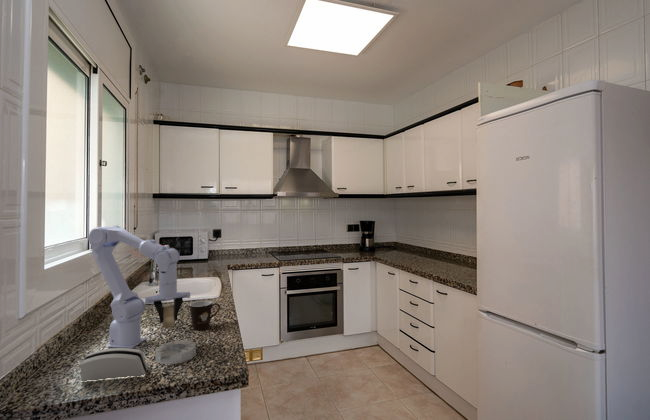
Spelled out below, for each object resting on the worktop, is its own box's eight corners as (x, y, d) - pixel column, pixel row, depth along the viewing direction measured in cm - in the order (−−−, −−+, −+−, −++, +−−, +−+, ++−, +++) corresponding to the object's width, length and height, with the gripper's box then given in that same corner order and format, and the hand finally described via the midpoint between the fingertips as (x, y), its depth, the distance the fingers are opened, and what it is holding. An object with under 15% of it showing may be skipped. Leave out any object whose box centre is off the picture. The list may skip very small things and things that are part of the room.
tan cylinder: (159, 327, 115) (159, 308, 115) (166, 323, 119) (166, 304, 119) (170, 328, 115) (170, 308, 115) (176, 324, 119) (176, 304, 119)
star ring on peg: (147, 364, 103) (147, 354, 103) (169, 348, 115) (169, 339, 115) (183, 366, 102) (183, 356, 101) (202, 349, 113) (202, 340, 113)
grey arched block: (150, 368, 100) (146, 342, 97) (145, 381, 96) (140, 354, 92) (89, 374, 97) (83, 347, 94) (81, 387, 93) (74, 359, 89)
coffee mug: (188, 332, 129) (188, 307, 129) (191, 325, 137) (191, 301, 137) (219, 329, 132) (219, 304, 132) (220, 322, 140) (220, 299, 140)
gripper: (145, 287, 110) (146, 328, 110) (191, 282, 117) (192, 319, 118) (144, 283, 116) (144, 321, 116) (188, 278, 123) (188, 314, 123)
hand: (168, 320), depth 117 cm, fingers closed on tan cylinder, 4 cm apart
